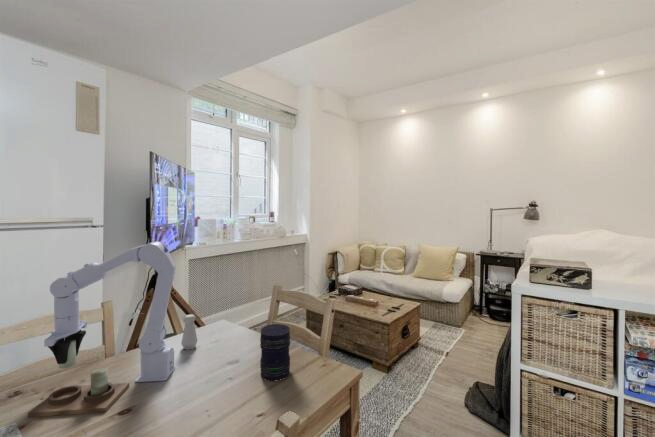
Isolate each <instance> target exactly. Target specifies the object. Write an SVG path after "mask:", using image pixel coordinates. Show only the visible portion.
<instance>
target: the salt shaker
mask: <svg viewBox="0 0 655 437" xmlns="http://www.w3.org/2000/svg"><path fill="white" fill-rule="evenodd" d="M195 321H196V315H195V314H191V313H190V314H186V315H185V316H184V317H183V323H184V328H183V334H182V339H181V347H182V348H183V350H184V349H186V350H185V351H190V350H189V349H191V350H193V349H192V348H194V347H195V348H196V346H197V344H198V337H197V331H196V327H195ZM195 348H194V349H195Z"/></svg>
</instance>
